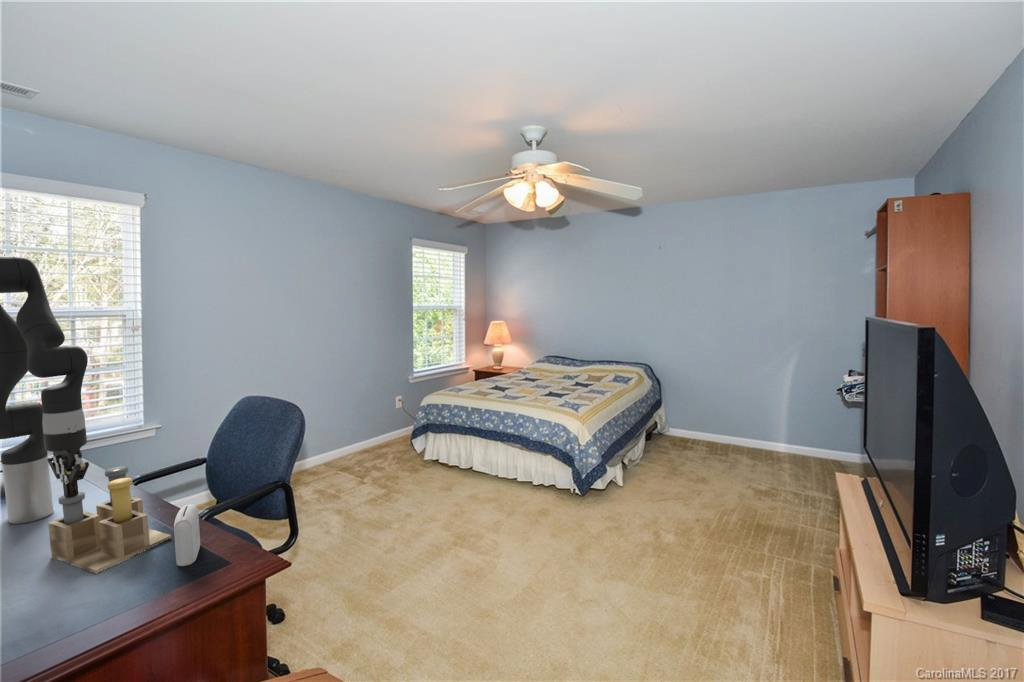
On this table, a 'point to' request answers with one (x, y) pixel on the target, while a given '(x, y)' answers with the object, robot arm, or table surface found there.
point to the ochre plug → (121, 499)
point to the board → (103, 537)
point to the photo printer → (187, 535)
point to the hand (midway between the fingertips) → (71, 496)
